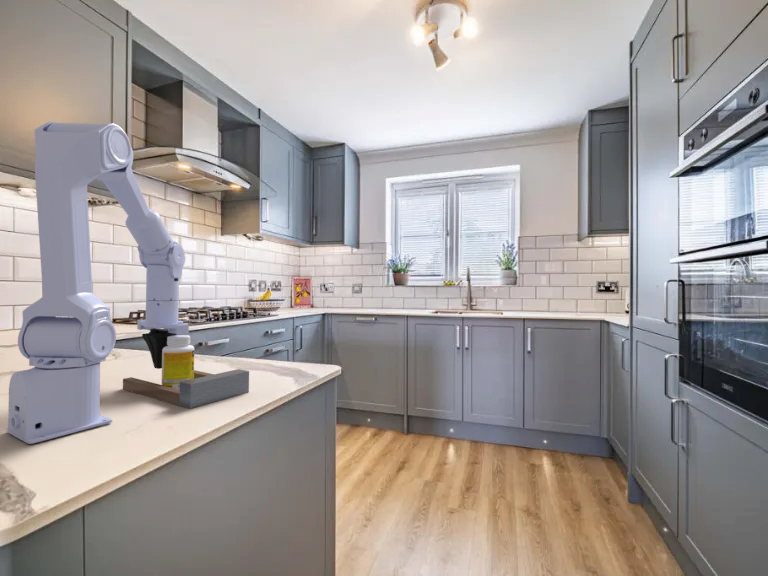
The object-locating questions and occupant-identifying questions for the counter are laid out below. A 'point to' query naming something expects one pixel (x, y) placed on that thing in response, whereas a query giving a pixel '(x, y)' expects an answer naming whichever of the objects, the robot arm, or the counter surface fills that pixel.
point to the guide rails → (156, 388)
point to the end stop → (213, 388)
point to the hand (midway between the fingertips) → (161, 367)
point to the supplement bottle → (177, 361)
